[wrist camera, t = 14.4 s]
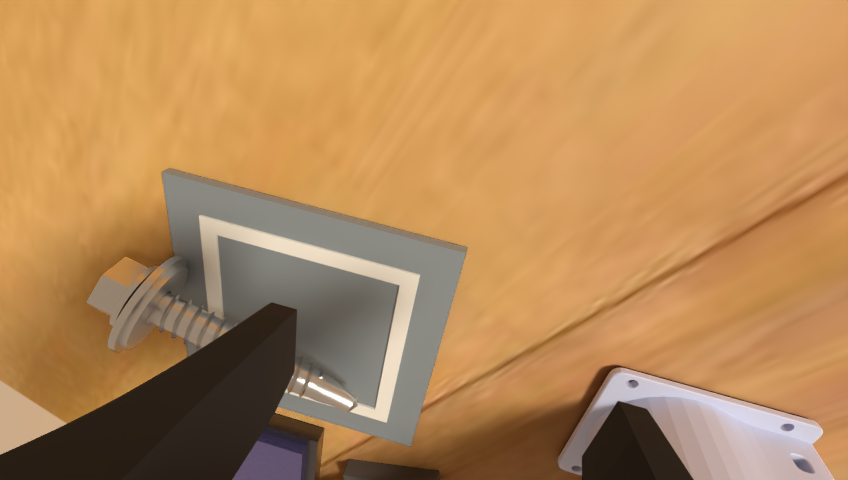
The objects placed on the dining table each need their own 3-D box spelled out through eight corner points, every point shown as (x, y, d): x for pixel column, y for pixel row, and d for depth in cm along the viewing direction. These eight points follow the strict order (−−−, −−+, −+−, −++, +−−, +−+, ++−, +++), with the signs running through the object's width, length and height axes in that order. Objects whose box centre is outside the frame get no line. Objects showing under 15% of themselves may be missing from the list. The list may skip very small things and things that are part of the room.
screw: (136, 282, 23) (59, 350, 19) (155, 218, 20) (72, 280, 16) (349, 390, 25) (322, 471, 21) (389, 345, 23) (368, 426, 19)
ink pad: (324, 428, 27) (313, 451, 26) (316, 502, 32) (307, 525, 30) (191, 388, 28) (174, 408, 26) (203, 466, 32) (189, 487, 31)
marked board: (467, 247, 19) (465, 254, 18) (412, 439, 26) (410, 448, 25) (169, 168, 20) (159, 173, 19) (196, 374, 27) (190, 382, 26)
